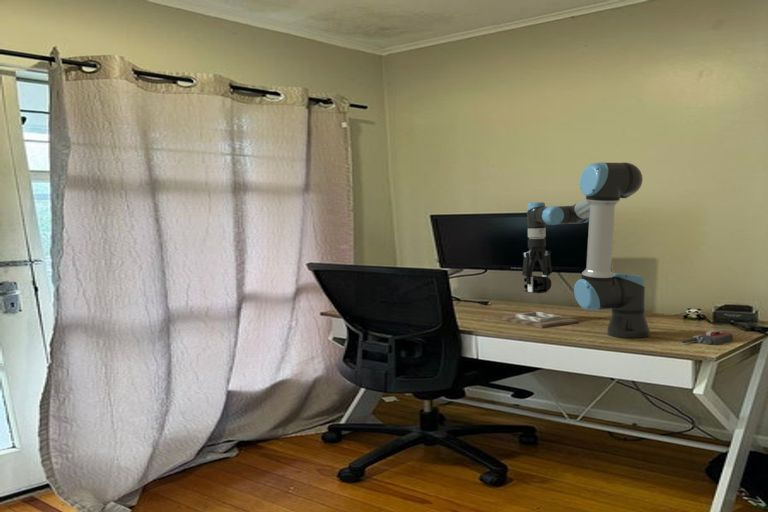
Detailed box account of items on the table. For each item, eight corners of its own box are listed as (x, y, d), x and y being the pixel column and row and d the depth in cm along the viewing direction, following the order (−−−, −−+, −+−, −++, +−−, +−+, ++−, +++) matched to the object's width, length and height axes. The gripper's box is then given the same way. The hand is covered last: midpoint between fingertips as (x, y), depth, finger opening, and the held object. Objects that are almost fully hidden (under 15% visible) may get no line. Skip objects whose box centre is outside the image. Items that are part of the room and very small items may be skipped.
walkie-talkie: (712, 338, 238) (679, 345, 228) (712, 326, 238) (679, 332, 228) (736, 341, 231) (702, 349, 220) (736, 329, 231) (702, 336, 220)
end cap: (551, 292, 281) (551, 276, 280) (539, 293, 277) (539, 277, 277) (536, 290, 289) (535, 274, 289) (523, 291, 286) (523, 276, 286)
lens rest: (578, 323, 277) (578, 316, 276) (542, 328, 267) (542, 321, 267) (534, 314, 301) (534, 309, 301) (499, 319, 292) (499, 313, 292)
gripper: (524, 239, 274) (525, 293, 275) (560, 237, 283) (561, 289, 285) (512, 239, 280) (513, 292, 282) (548, 236, 290) (549, 288, 291)
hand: (537, 290), depth 283 cm, fingers closed on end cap, 7 cm apart
